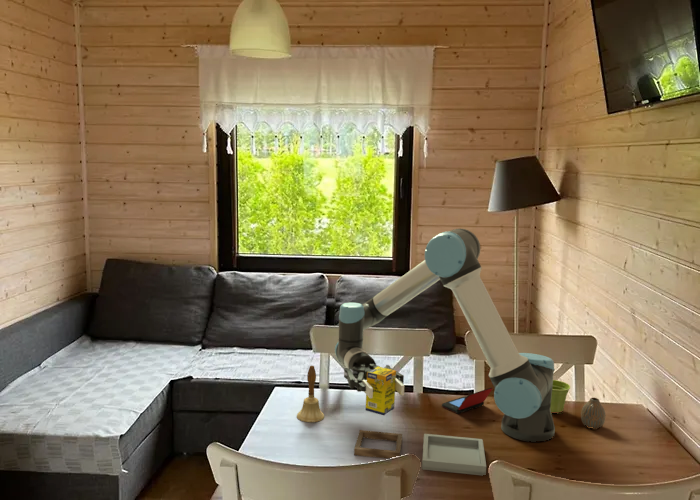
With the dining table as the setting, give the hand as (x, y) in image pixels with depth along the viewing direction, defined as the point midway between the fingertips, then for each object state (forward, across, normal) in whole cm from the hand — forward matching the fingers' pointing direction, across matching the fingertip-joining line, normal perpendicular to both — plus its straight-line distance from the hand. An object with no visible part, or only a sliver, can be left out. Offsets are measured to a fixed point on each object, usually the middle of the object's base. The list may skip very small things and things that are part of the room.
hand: (387, 391), depth 174 cm
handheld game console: (-25, -37, -18) cm, 48 cm away
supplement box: (-5, 0, -7) cm, 9 cm away
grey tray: (+6, -17, -18) cm, 25 cm away
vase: (-4, -68, -18) cm, 71 cm away
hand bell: (-29, +13, -18) cm, 36 cm away
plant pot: (-17, -63, -18) cm, 68 cm away
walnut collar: (-5, 0, -18) cm, 18 cm away
